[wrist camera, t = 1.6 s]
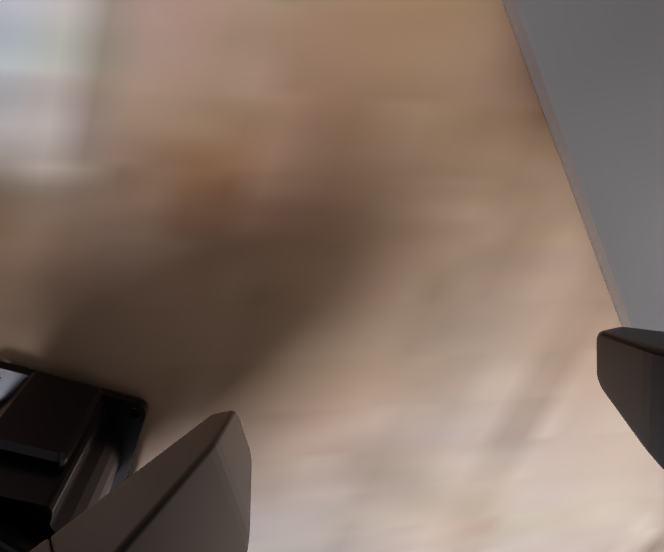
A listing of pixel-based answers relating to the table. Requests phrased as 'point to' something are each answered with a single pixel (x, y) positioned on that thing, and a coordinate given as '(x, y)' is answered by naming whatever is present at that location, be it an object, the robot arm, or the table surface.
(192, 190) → the table surface
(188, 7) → the table surface
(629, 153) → the board
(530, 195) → the table surface
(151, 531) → the robot arm
